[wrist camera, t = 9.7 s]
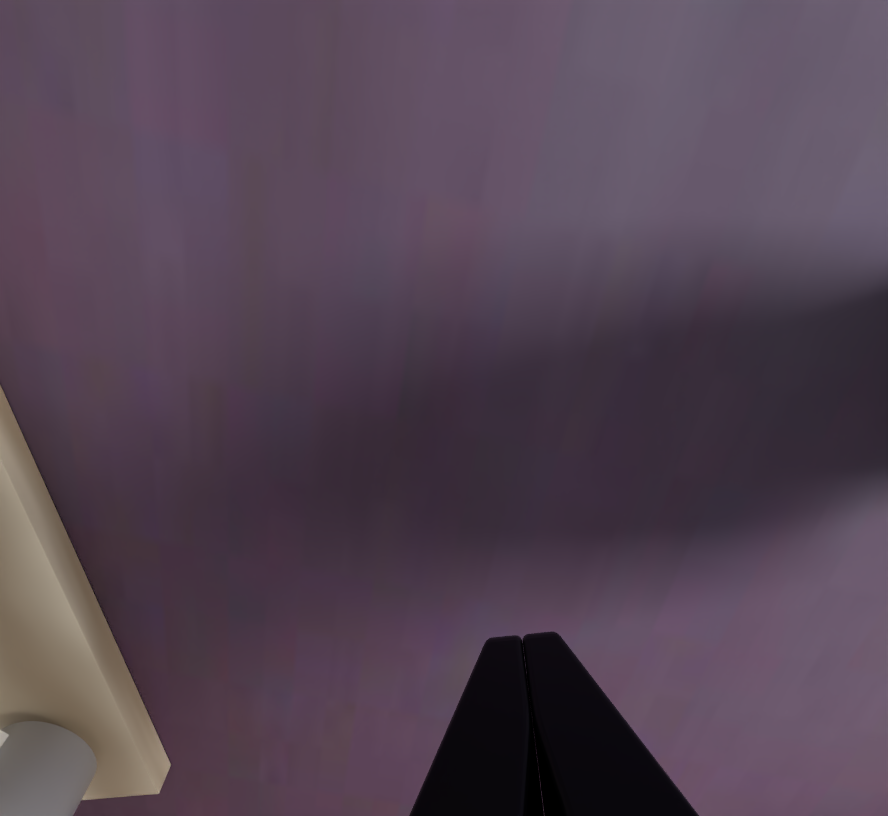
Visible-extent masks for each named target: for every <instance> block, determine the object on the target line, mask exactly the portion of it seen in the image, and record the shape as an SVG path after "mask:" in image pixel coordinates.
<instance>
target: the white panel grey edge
mask: <svg viewBox="0 0 888 816" xmlns="http://www.w3.org/2000/svg"><path fill="white" fill-rule="evenodd" d="M96 769H97V761H96V757H95V755H94V753H93V751H92V749H91V748H90V747H89V745H88V744H87V743H86V742H85V741H84V740H83V739H81V738H80V737H79V736H77V735H76V734H75V733H73V732H71V731H69V730H67V729H65V728H63V727H60V726H57V725H54V724H51V723H46V722H39V721H24V722H18V723H14V724H11V725H9V726H7V727H5V728H3V729H2V730H0V816H73V815H74V813H75V811H76V809H77V807H78V806H79V804H80V802H81V800H82V798H83V796H84V794H85V792H86V790H87V788H88V787H89V785H90V783H91V781H92V779H93V777H94V775H95V773H96Z"/></svg>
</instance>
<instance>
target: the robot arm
mask: <svg viewBox="0 0 888 816" xmlns="http://www.w3.org/2000/svg"><path fill="white" fill-rule="evenodd" d="M523 648H524V651H523ZM524 656H525V659H524ZM525 664H526V667H525ZM526 672H527V674H526ZM527 681H528V682H527ZM528 689H529V690H528ZM529 697H530V698H529ZM530 705H531V706H530ZM531 713H532V714H531ZM532 720H533V722H532ZM533 728H534V730H533ZM534 736H535V738H534ZM535 744H536V746H535ZM536 752H537V754H536ZM537 760H538V762H537ZM538 768H539V770H538ZM539 776H540V778H539ZM540 784H541V787H540ZM541 791H542V795H541ZM542 799H543V803H542ZM543 807H544V811H543ZM544 815H545V816H699V815H698V814H697V812H696V811H695V810H694V809H693V807H692V806H691V805H690V803H689V802H688V801H687V799H686V798H685V797H684V796H683V794H682V793H681V792H680V790H679V789H678V788H677V787H676V785H675V784H674V783H673V781H672V780H671V779H670V777H669V776H668V775H667V774H666V772H665V771H664V770H663V768H662V767H661V766H660V764H659V763H658V762H657V761H656V759H655V758H654V757H653V755H652V754H651V753H650V752H649V750H648V749H647V748H646V746H645V745H644V744H643V742H642V741H641V740H640V739H639V737H638V736H637V735H636V733H635V732H634V731H633V730H632V728H631V727H630V726H629V724H628V723H627V722H626V720H625V719H624V718H623V717H622V715H621V714H620V713H619V711H618V710H617V709H616V707H615V706H614V705H613V704H612V702H611V701H610V700H609V698H608V697H607V696H606V695H605V693H604V692H603V691H602V689H601V688H600V687H599V685H598V684H597V683H596V682H595V680H594V679H593V678H592V676H591V675H590V674H589V673H588V671H587V670H586V669H585V667H584V666H583V665H582V663H581V662H580V661H579V660H578V658H577V657H576V656H575V654H574V653H573V652H572V650H571V649H570V648H569V647H568V645H567V644H566V643H565V641H564V640H563V639H562V638H561V636H560V635H559V634H557V633H555V632H544V633H534V634H527V635H525V636H524V638H523V643H522V639H521V638H520V637H519V636H516V635H514V636H504V637H494V638H489V639H488V640H487V641H486V642H485V644H484V646H483V648H482V651H481V653H480V655H479V657H478V660H477V662H476V664H475V667H474V669H473V671H472V673H471V676H470V678H469V680H468V683H467V685H466V687H465V689H464V692H463V694H462V696H461V699H460V701H459V703H458V705H457V708H456V710H455V712H454V715H453V717H452V719H451V721H450V724H449V726H448V728H447V731H446V733H445V735H444V737H443V740H442V742H441V744H440V747H439V749H438V751H437V754H436V756H435V758H434V760H433V763H432V765H431V767H430V770H429V772H428V774H427V776H426V779H425V781H424V783H423V786H422V788H421V790H420V792H419V795H418V797H417V799H416V802H415V804H414V806H413V808H412V811H411V813H410V815H409V816H544Z"/></svg>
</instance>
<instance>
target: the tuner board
mask: <svg viewBox="0 0 888 816" xmlns="http://www.w3.org/2000/svg"><path fill="white" fill-rule="evenodd" d="M24 721H39V722H46V723H51V724H54V725H57V726H60V727H63V728H65V729H67V730H69V731H71V732H73V733H75V734H76V735H77V736H79V737H80V738H81V739H83V740H84V741H85V742H86V743H87V744H88V745H89V747H90V748H91V749H92V751H93V753H94V755H95V757H96V761H97V769H96V773H95V775H94V777H93V779H92V781H91V783H90V785H89V787H88V788H87V790H86V792H85V794H84V796H83V798H82V800H89V799H101V798H113V797H125V796H137V795H148V794H159V792H160V790H161V787H162V785H163V783H164V780H165V778H166V776H167V773H168V771H169V768H170V766H171V764H170V762H169V759H168V757H167V755H166V753H165V750H164V748H163V746H162V744H161V742H160V739H159V737H158V735H157V733H156V730H155V728H154V726H153V724H152V722H151V719H150V717H149V715H148V713H147V710H146V708H145V706H144V704H143V702H142V699H141V697H140V695H139V693H138V690H137V688H136V686H135V684H134V681H133V679H132V677H131V675H130V673H129V670H128V668H127V666H126V664H125V661H124V659H123V657H122V655H121V653H120V650H119V648H118V646H117V644H116V641H115V639H114V637H113V635H112V633H111V630H110V628H109V626H108V624H107V621H106V619H105V617H104V615H103V613H102V610H101V608H100V606H99V604H98V601H97V599H96V597H95V595H94V592H93V590H92V588H91V586H90V584H89V581H88V579H87V577H86V575H85V572H84V570H83V568H82V566H81V564H80V561H79V559H78V557H77V555H76V552H75V550H74V548H73V546H72V544H71V541H70V539H69V537H68V535H67V532H66V530H65V528H64V526H63V524H62V521H61V519H60V517H59V515H58V512H57V510H56V508H55V506H54V503H53V501H52V499H51V497H50V495H49V492H48V490H47V488H46V486H45V483H44V481H43V479H42V477H41V475H40V472H39V470H38V468H37V466H36V463H35V461H34V459H33V457H32V455H31V452H30V450H29V448H28V446H27V443H26V441H25V439H24V437H23V434H22V432H21V430H20V428H19V426H18V423H17V421H16V419H15V417H14V414H13V412H12V410H11V408H10V406H9V403H8V401H7V399H6V397H5V394H4V392H3V390H2V388H1V386H0V730H2V729H3V728H5V727H7V726H9V725H11V724H14V723H18V722H24Z"/></svg>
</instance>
